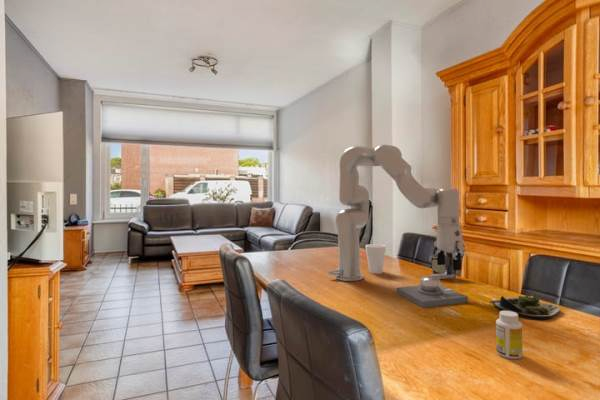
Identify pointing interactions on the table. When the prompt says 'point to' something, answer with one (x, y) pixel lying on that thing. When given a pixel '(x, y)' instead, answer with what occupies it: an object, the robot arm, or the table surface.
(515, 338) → the supplement bottle
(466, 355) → the table surface
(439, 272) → the food container
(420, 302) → the post base
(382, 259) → the foam cup
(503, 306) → the salad plate
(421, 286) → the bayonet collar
